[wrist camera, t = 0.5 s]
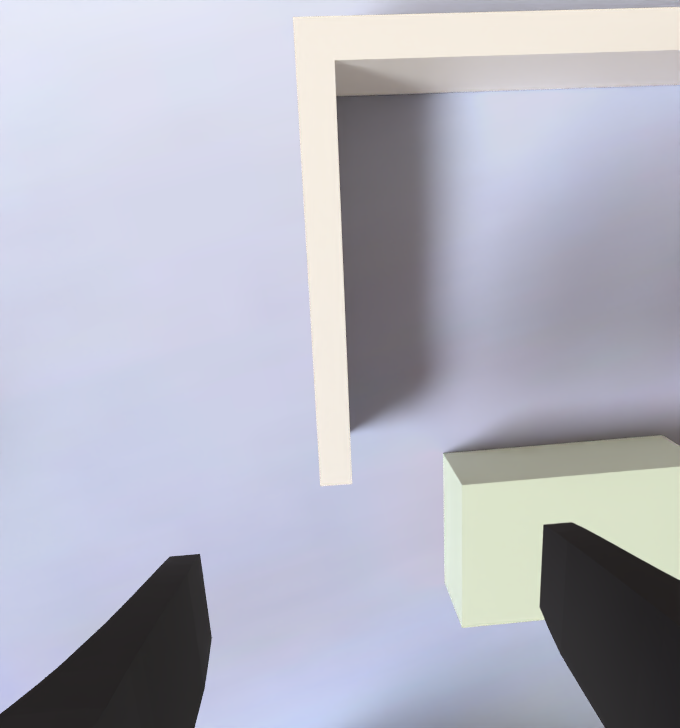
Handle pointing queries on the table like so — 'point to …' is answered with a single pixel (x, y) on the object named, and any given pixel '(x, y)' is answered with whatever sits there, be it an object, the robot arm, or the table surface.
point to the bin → (436, 75)
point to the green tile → (551, 515)
